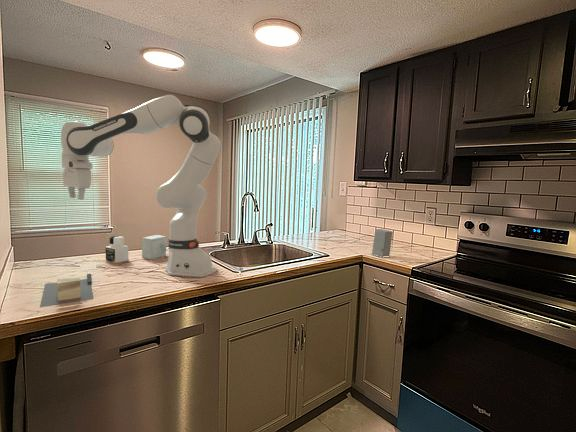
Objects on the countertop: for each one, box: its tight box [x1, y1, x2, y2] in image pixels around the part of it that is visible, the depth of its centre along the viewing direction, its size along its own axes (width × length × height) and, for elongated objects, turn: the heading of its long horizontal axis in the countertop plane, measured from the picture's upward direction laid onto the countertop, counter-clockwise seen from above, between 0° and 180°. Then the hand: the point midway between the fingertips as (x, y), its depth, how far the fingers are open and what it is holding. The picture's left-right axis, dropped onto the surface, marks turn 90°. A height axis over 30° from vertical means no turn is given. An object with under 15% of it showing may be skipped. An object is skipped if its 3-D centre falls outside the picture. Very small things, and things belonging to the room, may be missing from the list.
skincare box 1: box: [141, 234, 167, 260], centre depth 161 cm, size 10×6×10 cm, turn 156°
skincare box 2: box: [371, 228, 394, 258], centre depth 184 cm, size 8×7×16 cm
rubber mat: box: [39, 278, 95, 308], centre depth 109 cm, size 24×14×1 cm, turn 35°
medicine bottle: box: [105, 235, 129, 264], centre depth 150 cm, size 7×7×12 cm
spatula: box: [79, 262, 97, 284], centre depth 128 cm, size 6×29×2 cm, turn 33°
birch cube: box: [56, 275, 81, 302], centre depth 103 cm, size 6×6×6 cm
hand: (76, 198), depth 125 cm, fingers open, 8 cm apart
